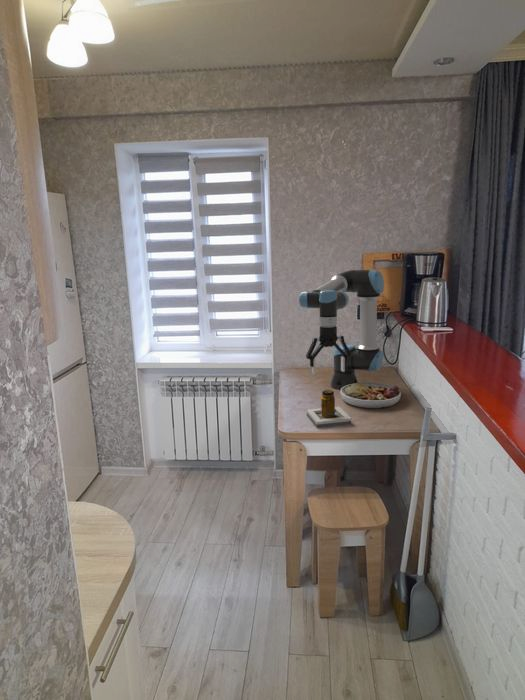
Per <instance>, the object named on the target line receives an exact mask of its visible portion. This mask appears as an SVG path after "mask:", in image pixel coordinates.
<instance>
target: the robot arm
mask: <svg viewBox="0 0 525 700" xmlns="http://www.w3.org/2000/svg"><path fill="white" fill-rule="evenodd" d="M384 288H385V280H384V276H383V273H382V272H381V271H379V270H374V269H351V270H346V271H344V272H341V273H338V274H336V275H334V276H333V277H332V278H331V280H330V281H327V282H326V283H324V284H323V285H320V286H319V287H317V288H315V289H313V290H312V291H302V292H301V293H300V294H299V297H298V303H299V306H300V307H301V308H305V309H319V337H314V336H313V337H312V341H311V344H310V346H309V347H308V348H309V349H308V351H307V353H306V354H305V358H306V359H308V360H309V366H310V367H311V373H312V374H313V375H316V374H317V373H316V359H315V358H316V357H317V356H318V354H319V353H320V352H321V351H322V349H324V348H328V347H330V348H331V347H333V346H334V350H333V374H332V376H331V377H332V378H331V379H330V388H333V389H336V390H341V388H343V387H344V386H346V385H350V384H354V383H359V381H358V378H357V375H356V371H365V372H370V373H371V372H375V373H376V372H378V371H379V370H380V369H381V367H382V365H383V364H382V363H383V359H384V352H383V350H380V345H379V344H378V343H377V342H378V341H377V340H378V339H377V338H378V337H377V336H378V335H377V331H378V329H377V327H378V325H377V323H378V320H377V319H378V313H377V312H378V299H379V298H380V297H381V294H382V293H383V292H384V290H385V289H384ZM347 293H356V295H357V296H356V297H357V298H358V299H359V309H360V310H359V340H360V341H359V344H358V345H357V346H356V345H355V344H347V343H346V340H345V336H343V335H342V334H340V335H338V327H337V325H338V323H337V322H338V310H341V309H344V308H345V307H347V305H348V304H349V295H348V294H347ZM337 341H339V342H340V344H341V345H338V344H337ZM318 342H320V343H319V344H318V345H317V343H318ZM316 346H317V347H316ZM356 347H357V348H356Z"/></svg>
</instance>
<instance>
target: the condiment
mask: <svg viewBox="0 0 525 700" xmlns="http://www.w3.org/2000/svg"><path fill="white" fill-rule="evenodd" d="M334 393H335V392H334V390H331V389H324V390H322V392H321V398H320V399H321V403H320V404H321V411H322V412H321V413H322V414H319V415H320V416H321V417H322V418H323V419H329V418H339V417H341V416H339V415H338V414H337V413H336V412H335V407H336V406H335V405H336V404H335V402H336V401H335V400H336V399H335V398H336V397H335V394H334Z"/></svg>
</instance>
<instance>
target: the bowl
mask: <svg viewBox="0 0 525 700" xmlns="http://www.w3.org/2000/svg"><path fill="white" fill-rule="evenodd" d="M339 393H340V397H341V398H342V400H343V401H344V402H346V403H347V404H349V405H352V406H354V407H358V408H363V407H364V409H382V407H384V408H387V407H392V406H394V405H395V404H397V403H398V402H399V401H400V400H401V395H402V392H401V390H400V388H399V387H398V386H395V385H389V384H386V383H380V382H379V383H378V382H358V383H354V384H350V385H346V386H344V387H343V388H341V389H340V391H339Z"/></svg>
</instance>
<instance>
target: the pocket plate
mask: <svg viewBox="0 0 525 700" xmlns="http://www.w3.org/2000/svg"><path fill="white" fill-rule="evenodd" d="M321 412H322V411H321V408H320V407H319V408H312V409H306V416H307V417H308V419H309V418H310V419H309V420H310V421H311V423H312V424H313V425H314V426H315V427H316V428H318V429H319V428H327V427H329V428H330V427H338V426H344V425H345V426H346V425H352V417H351V416H350V415H348V414H347V412H346V411H345V410H343V408H341V406H335V412H336V413H337V414H338V415H339V416H341V417H339V418H329V419H323V418H322V417H321V416H320V415H319V414H322V413H321ZM337 425H338V426H337Z"/></svg>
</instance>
